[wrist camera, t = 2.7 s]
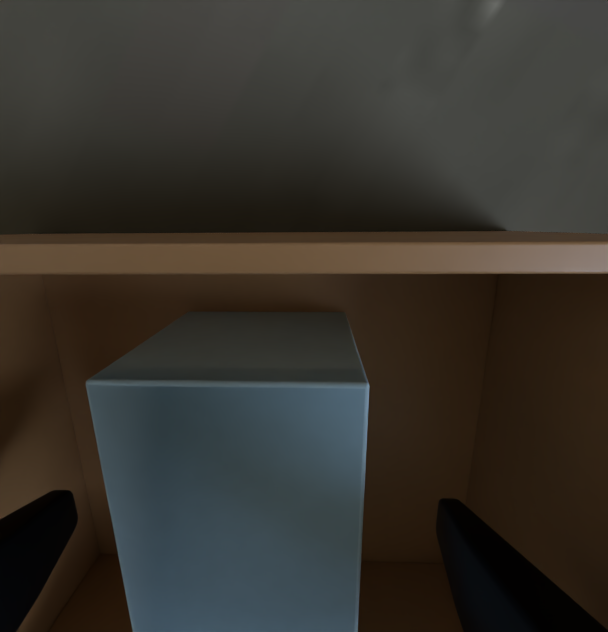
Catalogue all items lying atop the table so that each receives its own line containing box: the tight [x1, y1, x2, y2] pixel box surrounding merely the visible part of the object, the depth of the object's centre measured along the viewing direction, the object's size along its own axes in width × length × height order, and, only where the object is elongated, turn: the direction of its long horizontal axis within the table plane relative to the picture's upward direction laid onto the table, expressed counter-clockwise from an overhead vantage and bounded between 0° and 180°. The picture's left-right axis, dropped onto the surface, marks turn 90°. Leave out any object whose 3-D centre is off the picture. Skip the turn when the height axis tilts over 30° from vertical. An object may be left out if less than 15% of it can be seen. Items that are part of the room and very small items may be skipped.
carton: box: [0, 231, 608, 632], centre depth 9 cm, size 15×13×6 cm
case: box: [86, 312, 370, 632], centre depth 9 cm, size 5×8×5 cm, turn 0°
